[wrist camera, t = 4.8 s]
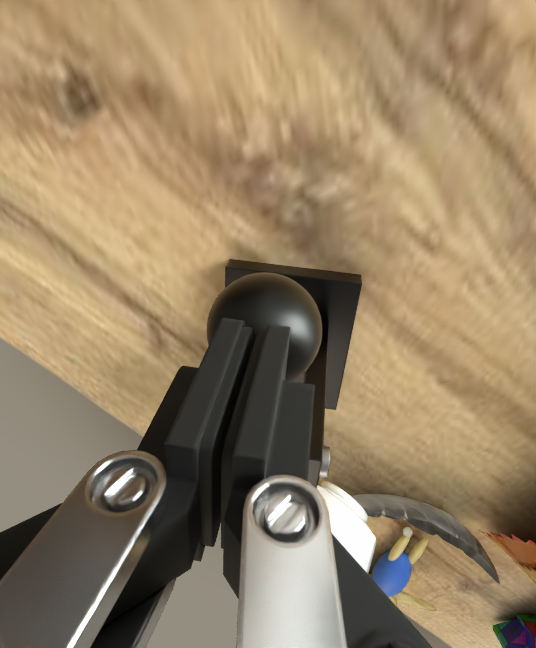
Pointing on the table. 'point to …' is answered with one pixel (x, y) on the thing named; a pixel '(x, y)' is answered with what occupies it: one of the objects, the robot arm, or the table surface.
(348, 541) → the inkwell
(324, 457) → the lever bracket
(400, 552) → the toy figure
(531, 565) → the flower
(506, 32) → the table surface
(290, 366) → the lever
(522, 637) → the multicolored block puzzle
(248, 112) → the table surface
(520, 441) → the table surface
